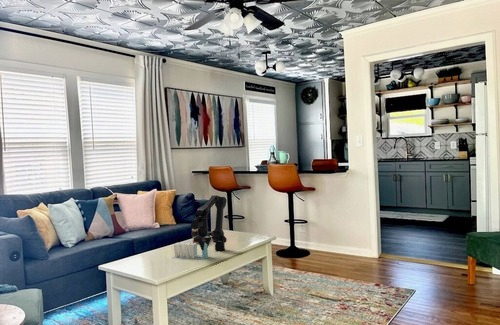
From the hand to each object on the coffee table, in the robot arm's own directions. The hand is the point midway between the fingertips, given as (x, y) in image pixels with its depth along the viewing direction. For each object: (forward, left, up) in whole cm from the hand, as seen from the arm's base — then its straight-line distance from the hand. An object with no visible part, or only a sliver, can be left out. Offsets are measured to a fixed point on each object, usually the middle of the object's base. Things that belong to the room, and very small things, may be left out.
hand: (204, 249), depth 262 cm
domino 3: (+12, -4, -6) cm, 14 cm away
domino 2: (+17, -6, -6) cm, 18 cm away
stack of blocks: (+12, -54, -7) cm, 56 cm away
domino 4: (+8, -3, -6) cm, 10 cm away
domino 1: (+21, -7, -6) cm, 23 cm away
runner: (+11, -4, -6) cm, 13 cm away
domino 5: (0, 0, -6) cm, 6 cm away
